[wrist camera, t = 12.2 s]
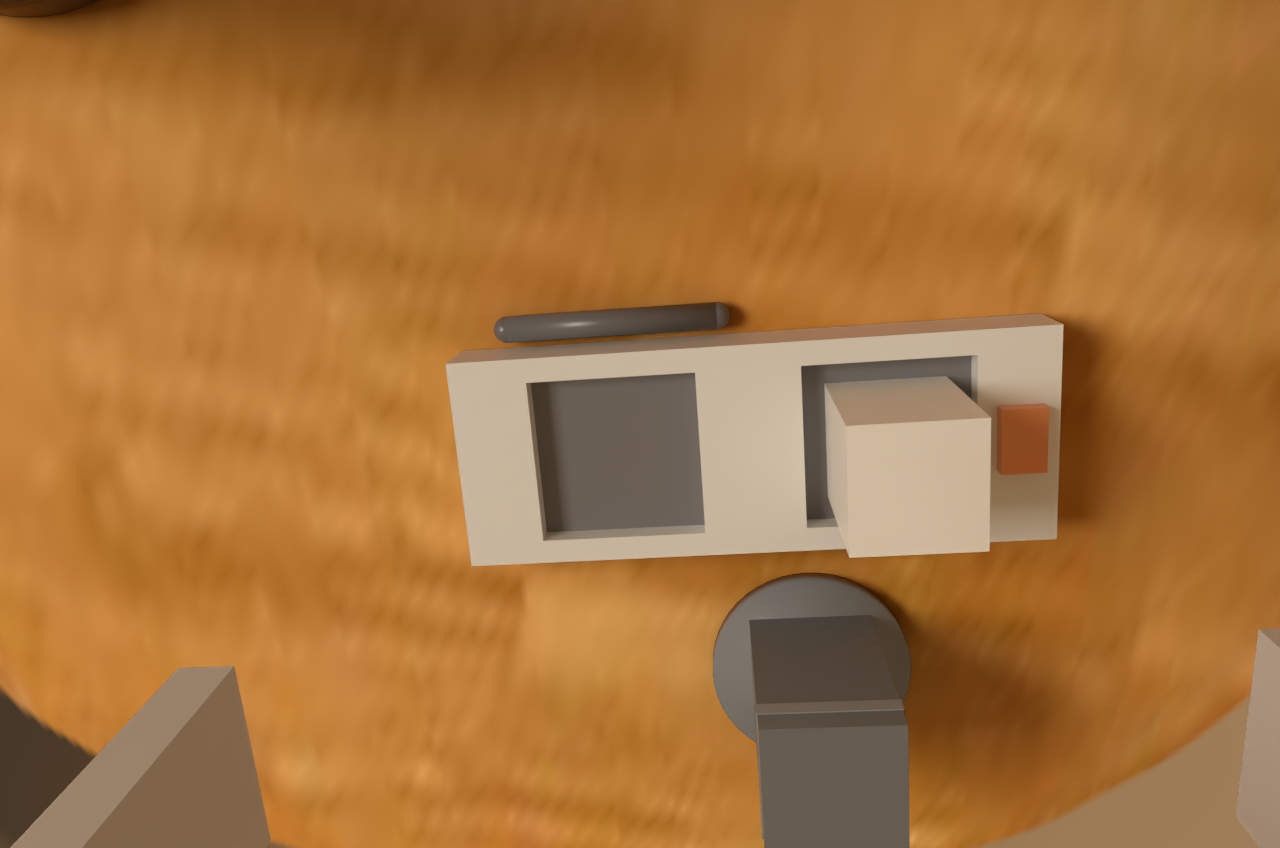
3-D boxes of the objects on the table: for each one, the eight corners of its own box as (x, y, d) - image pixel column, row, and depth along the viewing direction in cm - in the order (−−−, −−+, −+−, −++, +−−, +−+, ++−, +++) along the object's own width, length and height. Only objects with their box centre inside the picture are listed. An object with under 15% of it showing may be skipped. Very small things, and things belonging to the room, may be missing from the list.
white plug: (828, 496, 38) (849, 557, 32) (824, 383, 37) (845, 426, 31) (946, 490, 37) (989, 551, 32) (945, 376, 36) (991, 417, 30)
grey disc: (718, 749, 43) (718, 760, 42) (707, 577, 41) (707, 585, 40) (908, 743, 42) (911, 754, 41) (906, 568, 40) (910, 576, 39)
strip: (485, 542, 41) (468, 572, 38) (457, 318, 39) (436, 331, 36) (1035, 515, 39) (1062, 545, 36) (1041, 278, 37) (1070, 289, 34)
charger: (747, 618, 40) (757, 728, 32) (870, 613, 40) (909, 723, 32) (753, 726, 41) (763, 856, 34) (873, 722, 41) (910, 853, 33)
